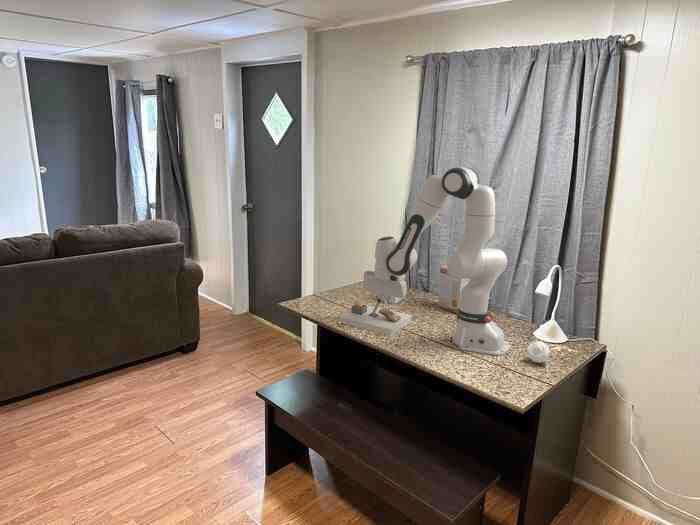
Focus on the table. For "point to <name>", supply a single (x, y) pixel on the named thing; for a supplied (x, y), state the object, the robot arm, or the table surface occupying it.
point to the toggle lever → (376, 306)
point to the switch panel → (374, 320)
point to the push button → (359, 304)
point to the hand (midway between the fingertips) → (383, 303)
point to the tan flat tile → (389, 314)
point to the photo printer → (394, 300)
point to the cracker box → (450, 290)
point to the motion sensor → (538, 352)
